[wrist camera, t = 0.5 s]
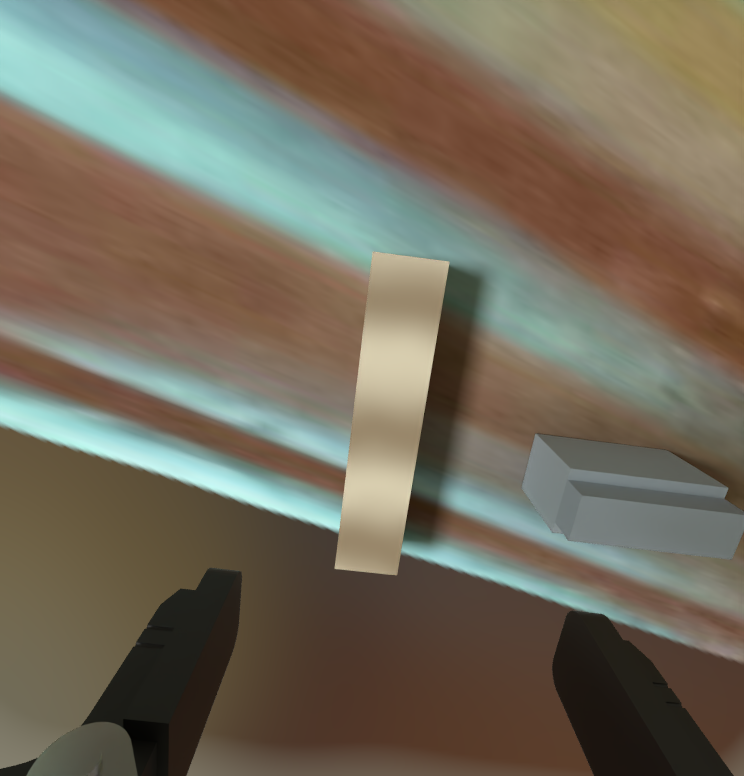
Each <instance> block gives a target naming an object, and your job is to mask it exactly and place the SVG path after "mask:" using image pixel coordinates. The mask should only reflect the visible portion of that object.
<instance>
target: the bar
mask: <svg viewBox="0 0 744 776" xmlns="http://www.w3.org/2000/svg"><path fill="white" fill-rule="evenodd" d="M448 268H449V262H447V261H440V260H432V259H425V258H417V257H409V256H402V255H394V254H387V253H379V252H373V254H372V262H371V271H370V279H369V287H368V296H367V304H366V312H365V321H364V329H363V337H362V346H361V354H360V362H359V371H358V379H357V388H356V396H355V404H354V413H353V421H352V429H351V438H350V446H349V454H348V463H347V471H346V479H345V488H344V496H343V505H342V513H341V521H340V530H339V538H338V546H337V556H336V564H335V569H343V570H352V571H362V572H371V573H381V574H390V575H397V571H398V565H399V559H400V554H401V548H402V542H403V536H404V530H405V524H406V518H407V512H408V506H409V500H410V494H411V488H412V482H413V476H414V470H415V464H416V458H417V452H418V446H419V440H420V435H421V429H422V423H423V417H424V411H425V405H426V399H427V393H428V387H429V381H430V375H431V369H432V363H433V357H434V351H435V345H436V339H437V333H438V327H439V321H440V316H441V310H442V304H443V298H444V292H445V286H446V280H447V274H448Z"/></svg>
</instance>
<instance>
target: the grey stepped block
mask: <svg viewBox="0 0 744 776" xmlns="http://www.w3.org/2000/svg"><path fill="white" fill-rule="evenodd" d="M522 489H523V491H524V492H525V494H526V495H527V497H528V498H529V500H530V501H531V503H532V504H533V506H534V507H535V508H536V510H537V511H538V513H539V514H540V516H541V517H542V519H543V520H544V522H545V523H546V524H547V526H548V527H549V529H550V530H551V532H552V533H560V534H564V535H565V537H566V538H567V540H568V541H575V542H584V543H592V544H601V545H609V546H618V547H627V548H635V549H644V550H652V551H661V552H670V553H678V554H687V555H695V556H704V557H713V558H721V559H730V560H732V557H733V555H734V553H735V550H736V548H737V546H738V543H739V541H740V539H741V537H742V534H743V532H744V511H742V510H741V509H739V508H738V507H736V506H735V505H733V504H732V503H730V502H728V501H727V500H725V499H724V498H725V496H726V493H727V491H728V487H726V486H725V485H723V484H721V483H720V482H718V481H716V480H715V479H713V478H712V477H710V476H708V475H707V474H705V473H703V472H702V471H700V470H699V469H697V468H695V467H694V466H692V465H690V464H689V463H687V462H686V461H684V460H682V459H681V458H679V457H677V456H676V455H674V454H673V453H671V452H669V451H668V450H662V449H654V448H646V447H639V446H631V445H623V444H615V443H607V442H599V441H591V440H583V439H575V438H567V437H559V436H551V435H543V434H535V438H534V442H533V446H532V449H531V453H530V457H529V461H528V465H527V469H526V473H525V477H524V481H523V484H522Z"/></svg>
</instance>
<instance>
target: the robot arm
mask: <svg viewBox="0 0 744 776" xmlns="http://www.w3.org/2000/svg"><path fill="white" fill-rule="evenodd" d="M241 583H242V574H241V572H240V571H234V570H225V569H217V568H209V569H208V570H207V571H206V573H205V575H204V577H203V578H202V580H201V582H200V584H199V585H198V587H197V589H196V590H188V589H180V590H178V591H177V592H176V593H175V594H174V595H172V596H171V597H170V598H168V599H167V600H166V601H165V602H163V603H162V604H161V605H160V606H159V608H158V609H157V611H156V612H155V614H154V616H153V617H152V619H151V620H150V622H149V623H148V625H147V629H144V631H143V633H142V634H141V636H140V637H139V639H138V641H137V642H136V646H135V647H133V648H132V650H131V651H130V653H129V654H128V656H127V657H126V659H125V660H124V662H123V664H122V665H121V667H120V668H119V670H118V671H117V673H116V674H115V676H114V677H113V679H112V680H111V682H110V684H109V685H108V687H107V688H106V690H105V691H104V693H103V694H102V696H101V697H100V699H99V701H98V702H97V704H96V705H95V707H94V709H93V710H92V711H91V713H90V714H89V716H88V717H87V719H86V720H85V721H84V723H83V724H82V725H81V726H80V727H78V728H76V729H74V730H72V731H70V732H68V733H66V734H65V735H63V736H62V737H60V738H58V739H57V740H56V741H55V742H54V743H52V744H51V745H50V746H49V747H48V748H47V749H46V750H45V751H44V752H43V753H42V754H41V755H40V756H39V757H38V758H36V759H33V760H31V761H29V762H26V763H22V764H19V765H16V766H11V767H7V768H3V769H0V776H186V775H187V773H188V770H189V767H190V764H191V762H192V759H193V757H194V754H195V751H196V748H197V746H198V743H199V740H200V738H201V735H202V732H203V730H204V727H205V724H206V721H207V719H208V716H209V714H210V711H211V708H212V705H213V703H214V700H215V698H216V695H217V692H218V690H219V687H220V684H221V682H222V679H223V676H224V674H225V671H226V668H227V666H228V663H229V660H230V657H231V655H232V652H233V649H234V645H235V642H236V637H237V632H238V626H239V614H240V598H241ZM552 671H553V679H554V684H555V687H556V690H557V693H558V695H559V697H560V700H561V702H562V704H563V706H564V709H565V711H566V713H567V715H568V718H569V720H570V722H571V724H572V727H573V729H574V731H575V734H576V736H577V738H578V740H579V743H580V745H581V747H582V749H583V752H584V754H585V756H586V759H587V761H588V763H589V765H590V768H591V770H592V772H593V774H594V776H733V774H732V773H731V772H730V770H729V769H728V767H727V766H726V764H725V763H724V762H723V761H722V759H721V758H720V756H719V755H718V753H717V752H716V751H715V749H714V748H713V747H712V745H711V744H710V742H709V741H708V739H707V738H706V737H705V735H704V734H703V732H702V731H701V730H700V728H699V727H698V726H697V724H696V723H695V721H694V720H693V719H692V717H691V716H690V714H689V713H688V712H687V710H686V709H685V708H682V706H681V702H680V700H679V699H678V698H677V696H676V695H675V694H674V692H673V691H672V689H670V688H668V686H667V682H666V681H665V680H664V678H663V677H662V675H661V674H660V673H659V671H658V670H657V669H656V667H655V666H654V664H653V663H652V662H651V661H650V660H649V659H648V658H647V657H646V656H645V655H644V654H643V653H642V652H641V651H639V650H638V649H637V648H636V647H635V646H634V645H633V644H632V643H630V642H629V641H625V640H623V639H622V638H621V636H620V635H619V633H618V632H617V630H616V629H615V627H614V626H613V624H612V623H611V621H610V620H609V619H608V618H607V617H606V616H605V615H603V614H597V613H589V612H580V611H570V612H569V613H568V614H567V616H566V619H565V622H564V625H563V629H562V632H561V635H560V639H559V642H558V645H557V648H556V652H555V655H554V658H553V666H552Z"/></svg>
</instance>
